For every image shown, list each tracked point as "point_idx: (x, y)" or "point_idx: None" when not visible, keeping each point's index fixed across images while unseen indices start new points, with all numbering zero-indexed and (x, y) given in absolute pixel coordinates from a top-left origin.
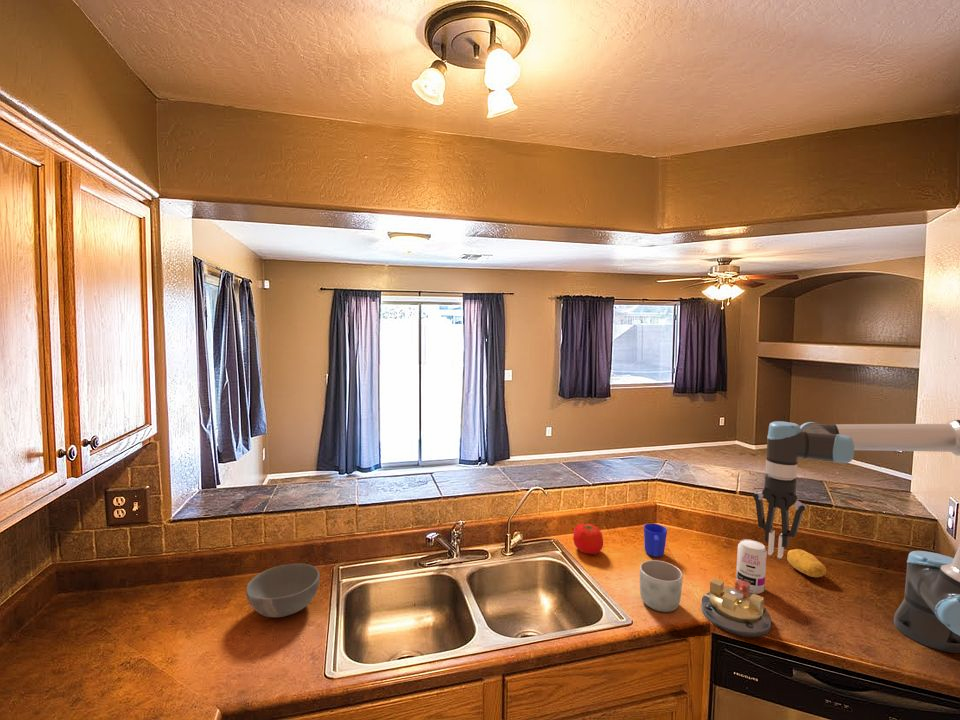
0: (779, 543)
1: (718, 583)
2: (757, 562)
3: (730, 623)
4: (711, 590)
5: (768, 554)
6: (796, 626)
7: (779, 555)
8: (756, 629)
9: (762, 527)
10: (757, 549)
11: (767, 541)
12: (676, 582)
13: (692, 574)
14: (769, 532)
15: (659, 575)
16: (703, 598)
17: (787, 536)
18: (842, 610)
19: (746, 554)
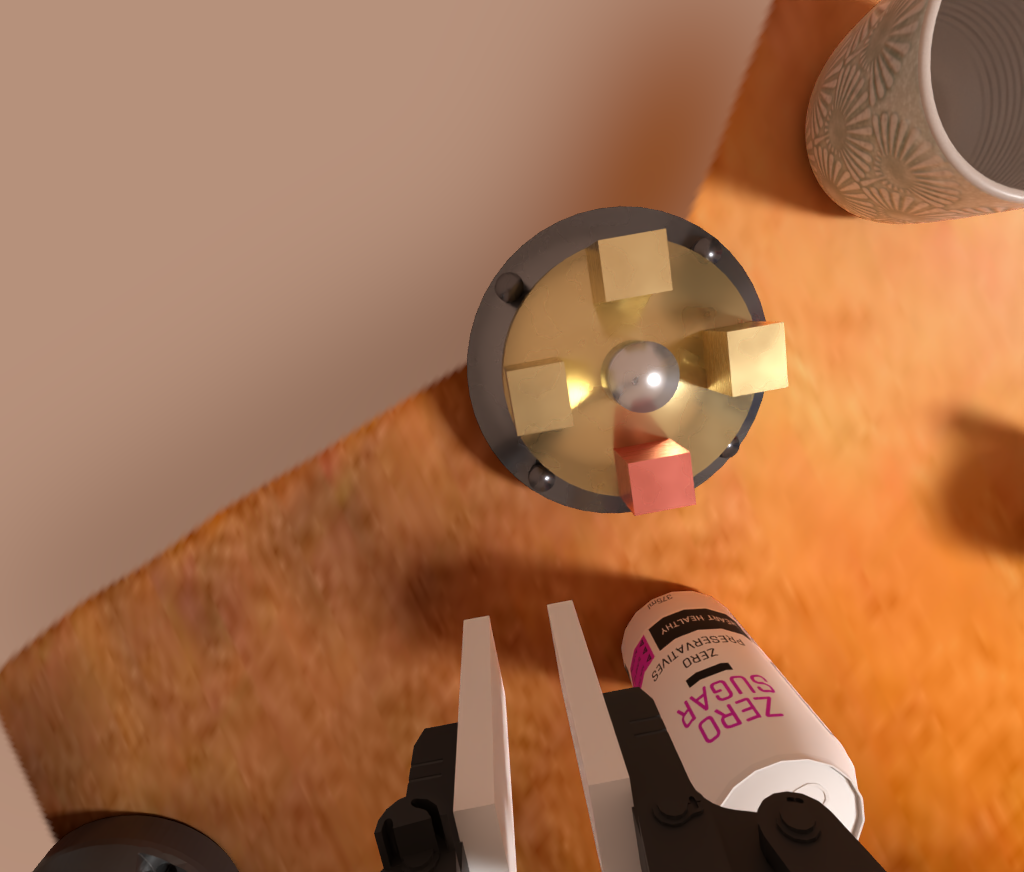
0: (480, 721)
1: (744, 347)
2: (692, 714)
3: (573, 224)
4: (749, 323)
5: (565, 602)
6: (425, 529)
7: (472, 633)
8: (483, 298)
9: (756, 823)
10: (735, 786)
11: (617, 696)
12: (918, 14)
13: (895, 516)
14: (632, 796)
15: (1020, 182)
16: (756, 311)
17: (393, 869)
18: (378, 795)
19: (766, 712)
